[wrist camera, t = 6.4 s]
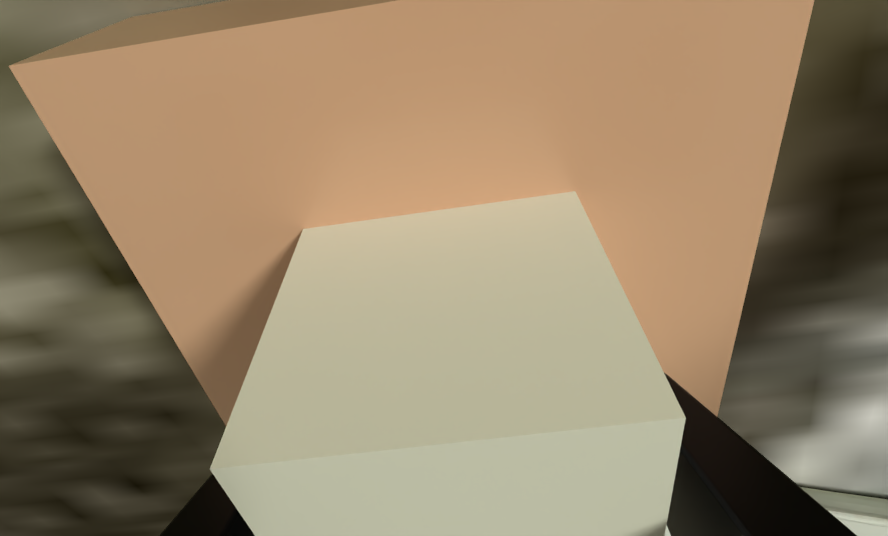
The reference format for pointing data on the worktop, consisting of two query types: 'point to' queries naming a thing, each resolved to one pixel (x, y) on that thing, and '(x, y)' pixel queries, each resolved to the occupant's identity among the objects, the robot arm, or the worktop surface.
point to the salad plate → (852, 511)
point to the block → (453, 385)
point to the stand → (428, 145)
